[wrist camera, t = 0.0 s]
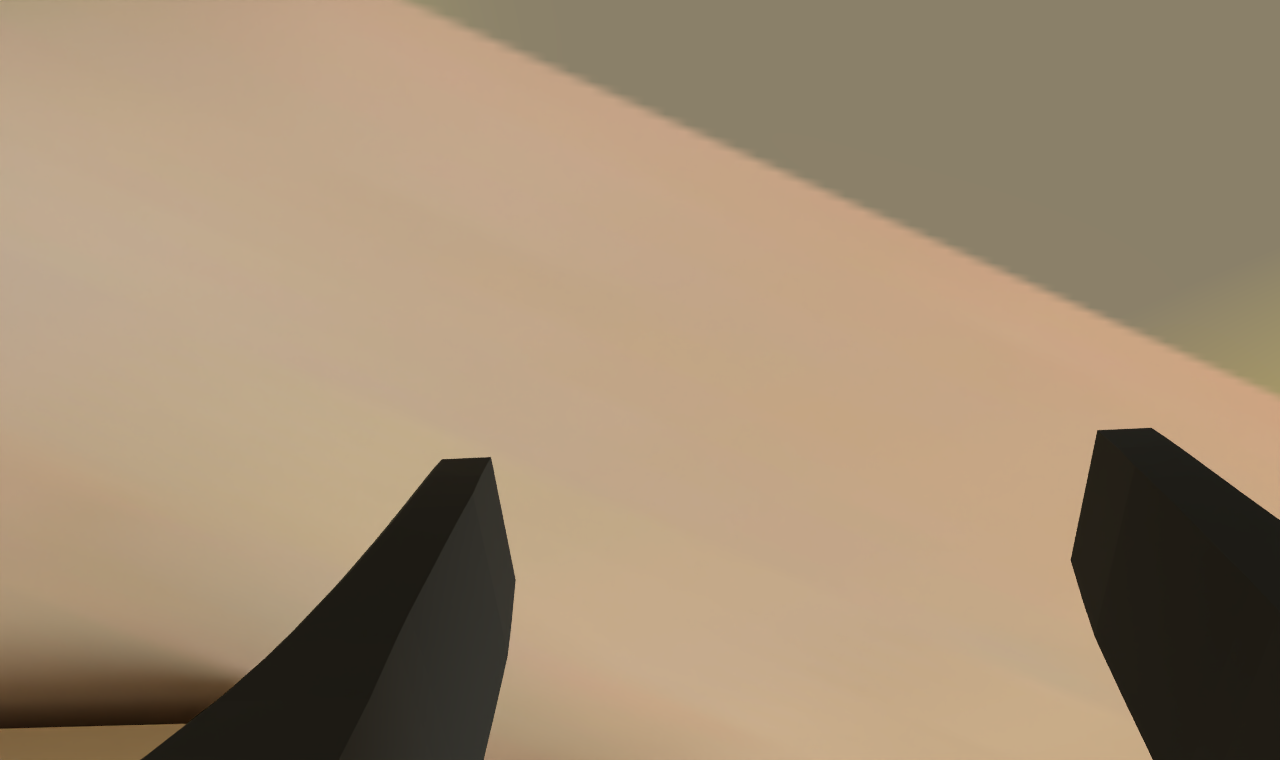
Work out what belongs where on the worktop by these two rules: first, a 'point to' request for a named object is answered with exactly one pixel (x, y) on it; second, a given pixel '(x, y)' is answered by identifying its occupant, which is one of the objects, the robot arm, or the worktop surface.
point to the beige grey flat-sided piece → (84, 742)
